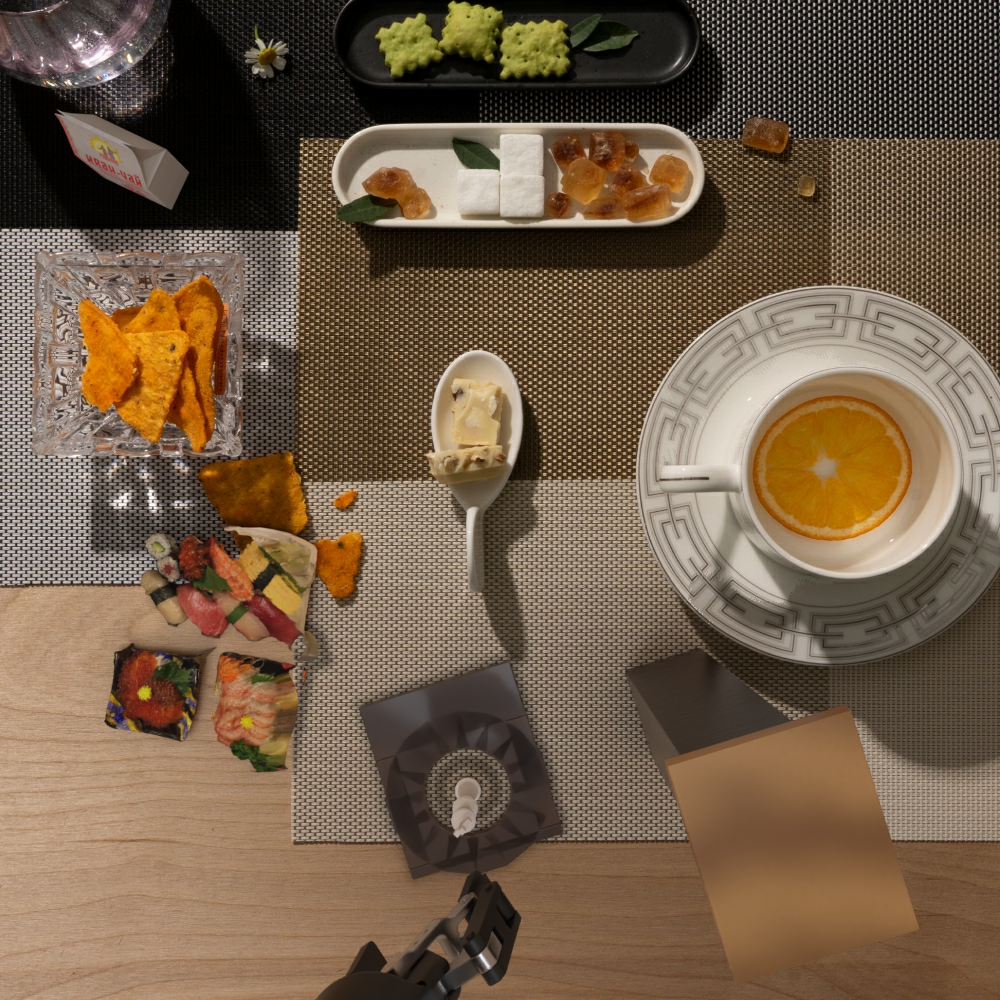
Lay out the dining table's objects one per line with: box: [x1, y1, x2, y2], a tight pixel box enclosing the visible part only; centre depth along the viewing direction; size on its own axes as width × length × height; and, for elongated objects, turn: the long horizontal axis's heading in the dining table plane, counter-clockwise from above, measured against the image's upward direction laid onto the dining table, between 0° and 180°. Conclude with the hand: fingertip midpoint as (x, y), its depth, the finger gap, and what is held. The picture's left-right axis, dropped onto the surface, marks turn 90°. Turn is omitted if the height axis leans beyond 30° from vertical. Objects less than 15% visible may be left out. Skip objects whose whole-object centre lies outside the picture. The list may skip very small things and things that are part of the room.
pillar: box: [624, 647, 792, 803], centre depth 56 cm, size 8×7×29 cm
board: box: [358, 659, 564, 881], centre depth 70 cm, size 17×14×2 cm
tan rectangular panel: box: [664, 704, 920, 986], centre depth 41 cm, size 12×10×1 cm
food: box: [103, 524, 319, 773], centre depth 69 cm, size 22×19×4 cm
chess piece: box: [450, 776, 482, 838], centre depth 66 cm, size 5×5×10 cm
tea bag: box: [54, 109, 190, 210], centre depth 66 cm, size 4×7×10 cm, turn 64°
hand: (429, 920), depth 50 cm, fingers open, 8 cm apart
